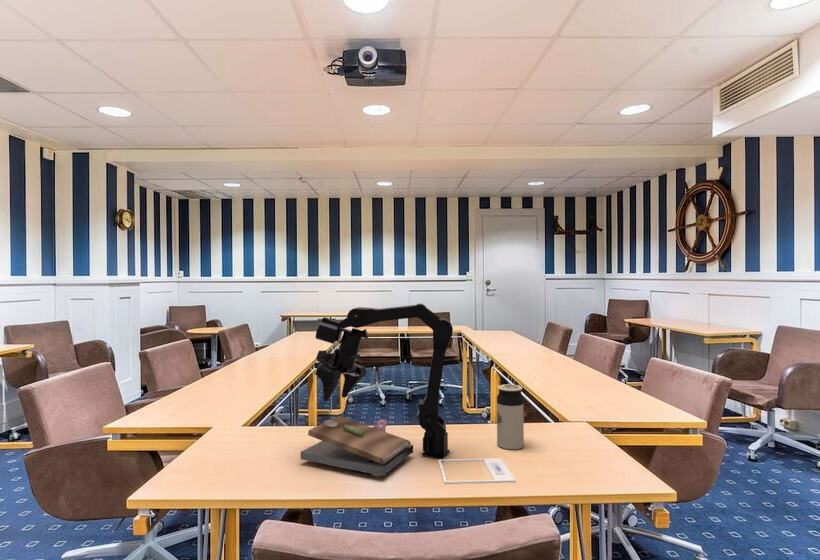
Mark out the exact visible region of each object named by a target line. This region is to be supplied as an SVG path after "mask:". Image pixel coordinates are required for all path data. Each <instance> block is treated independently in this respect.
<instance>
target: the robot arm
mask: <svg viewBox="0 0 820 560" xmlns="http://www.w3.org/2000/svg"><path fill="white" fill-rule="evenodd" d="M414 318H418V319H419V320H420V321H421V322H423V324H425V325H426V326H427V327H429V328H430V329H431V330H432V348H433V350H432V357H431V363H430V367H429V368H430V369H429V375H428V382H427V387H426V395H425V397H424V399H422V398H420V399H419V403H418V410H417V412H416V413H417V415H416V419H418V424H419V426H420V427H421V429H423V430H424V431H425V432H423V437H422V453H421V456H423V457H428V458H435V459H438V460H444V458H445V457H446V456H447V455H449V453H451V450H450V449H448V448H449V437H448V436H449V435H448V434H449V433H448V432H447V423H446V420H445V419H444V418H442V416H441V415H440V413H439V409H440V408H439V405H440V404H439V397H440V391H441V385H442V384H441V383H442V377H443V371H444V364H445V363H444V362H445V356H446V352H447V350H448V347H449V344H450V341H451V338H452V335H453V332H454V331H453V330H454V329H453V324H452V323H451V322H450V320H449V319H447V318H444V317H443V318H442V317H440V316H438V315H437V314H436V313H434V311H431V309H429V308H428V307H427V306H426V305H425V304H423V303H417V304H410V305H402V306H391V307H384V308H374V307H361V306H359V307H355V308H351V309H350V310H349V311H348V313H347V315H346V318H345V319H343V320H340V321H336V320H333V319H330V318H328V317H326V316H325V317H322V319H321V321H320V322H319V325H318V327H317V328H316V332H315V339H316V340H320V341H324V342H326V343H329V344H332V345H335V344H336V343H337V342H338V343H339V342H340V344H339V347H338V348H335V349H334V352H332V353H330V352H329V353H328V351H327V350H318V352H317V354H316V358H315V359H316V361H317V362H318V364H319V365H318V366H317V367H316V370H315V374H314V375H315V376H317V378H318V379H320V381H321V382H322V397H323V398H322V399H323V401H324V402H328V401H329V399H330V398H331V396H332V394H333V393H334V391H335V390H336V388H337V386H338V384H339V383H340V381H339V379H341V376H342V375H343V377H344V381H343V386H342V390H341V391H342V392H341V397H342V398H344V399H345V398H346V397H348V394H350V392H352V390H353V389H354V388H355V387H356V386H357V384H358V383H360V382H361V380H363V378H365V377H366V375H367V373H368V372H367V371H368V370H367V369H366V366H363V365H360V364H358V363H356V361H357V359H360V357H361V354H360V353H359V350H360V347H361V343H362V341H363V340H362V339H369V338H370V335H369V333H368V331H367V328H364V329H363V330H361V329H359V328H362V327H365V326H369V325H372V324H375V323H378V322H385V321H396V320H404V319H405V320H407V319H414ZM351 327H352V329H348V328H351ZM323 364H324V365H323ZM328 364H329V365H328Z"/></svg>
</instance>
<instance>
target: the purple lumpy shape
mask: <svg viewBox="0 0 820 560" xmlns="http://www.w3.org/2000/svg"><path fill="white" fill-rule="evenodd" d="M387 425H388V421H387V420H385V419H382V418H381V419H379V420H378V421H377V422H376V423H375V424H374V425H373V426H372V428H375V429H378V430H381V431H384V432H386V428H387Z"/></svg>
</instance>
